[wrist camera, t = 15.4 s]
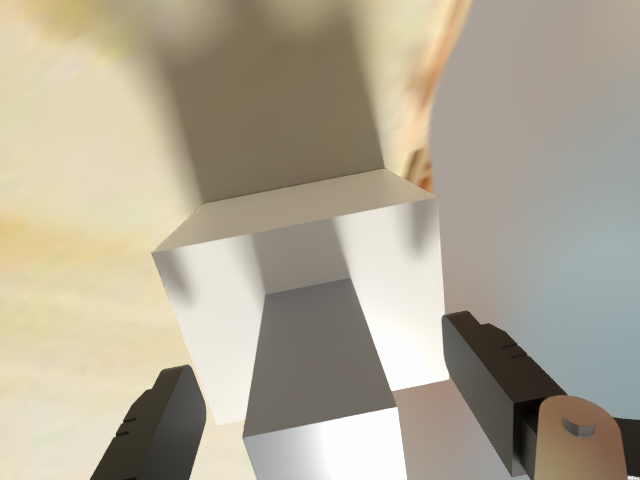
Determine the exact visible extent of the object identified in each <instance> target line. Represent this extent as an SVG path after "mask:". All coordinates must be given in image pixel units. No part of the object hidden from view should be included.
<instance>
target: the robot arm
mask: <svg viewBox="0 0 640 480" xmlns="http://www.w3.org/2000/svg"><path fill="white" fill-rule="evenodd" d="M441 323H442V338H443V353H444V360H445V364H446V367H447V370H448V372H449V374H450V376H451V378H452V380H453V381H454V383H455V384H456V386H457V388H458V389H459V391H460V393H461V394H462V396H463V398H464V399H465V401H466V403H467V404H468V406H469V407H470V409H471V411H472V412H473V414H474V416H475V417H476V419H477V421H478V422H479V424H480V426H481V427H482V429H483V431H484V432H485V434H486V435H487V437H488V439H489V440H490V442H491V444H492V445H493V447H494V449H495V450H496V452H497V453H498V455H499V457H500V458H501V460H502V462H503V463H504V465H505V467H506V468H507V470H508V472H509V473H510V475H511V477H516V476H521V475H526V474H527V475H528V476H529V477H530V479H531V480H640V420H632V419H621V418H614V417H612V416H611V415H610V414H609V413H608V412H606V411H605V410H604V409H602V408H601V407H599V406H598V405H596V404H594V403H592V402H590V401H587V400H585V399H582V398H579V397H575V396H568V395H567V394H566V393H565V392H564V391H563V389H562V388H560V386H559V385H558V384H557V383H555V381H554V380H553V379H551V377H550V376H549V375H548V374H546V373H545V371H544V370H543V369H542V368H541V367H540V366H539V365H538V364H537V363H536V362H535V361H534V360H533V359H532V358H531V357H530V356H527V353H526V352H525V351H524V350H523V349H522V348H521V347H520V346H518V345H517V343H516V342H515V341H514V340H513V339H512V338H511V337H510V336H509V335H508V334H507V333H506V332H505V331H502V330H501V329H499V328H497V327H495V326H493V325H491V324H489V323H488V324H483V325H481V324H479V322H478V321H477V320H476V319H475V318H474V317H473V316H472V315H471V314H470V312H468V311H462V312H457V313H451V314H447V315H443V316H442V319H441ZM205 422H206V405H205V401H204V399H203V396H202V393H201V391H200V388H199V385H198V383H197V380H196V378H195V375H194V372H193V370H192V368H191V367H190V366H189V365H183V366H178V367H173V368H168V369H164V370H162V371H161V372H160V374H159V376H158V378H157V380H156V382H155V384H154V386H153V388H152V389H149V390H146V391H145V392H144V393H143V394H142V395H141V396H140V397H139V398H138V399H137V400H136V401H135V402H134V403H133V404H132V406H131V408H130V409H129V411H128V413H127V415H126V416H125V418H124V420H123V424H121V425H120V427H119V429H118V431H117V432H116V437H114V438H113V439H112V441H111V443H110V445H109V447H108V448H107V450H106V452H105V454H104V455H103V457H102V459H101V461H100V463H99V464H98V466H97V468H96V470H95V471H94V473H93V475H92V477H91V479H90V480H189V478H190V475H191V471H192V468H193V464H194V461H195V457H196V454H197V451H198V447H199V444H200V440H201V437H202V433H203V430H204V426H205Z"/></svg>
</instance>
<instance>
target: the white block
mask: <svg viewBox="0 0 640 480" xmlns="http://www.w3.org/2000/svg"><path fill="white" fill-rule="evenodd" d="M152 256H153V259H154V261H155V264H156V267H157V269H158V272H159V274H160V277H161V280H162V282H163V285H164V288H165V290H166V293H167V296H168V298H169V301H170V303H171V306H172V309H173V311H174V314H175V317H176V319H177V322H178V324H179V327H180V330H181V332H182V335H183V338H184V340H185V343H186V346H187V348H188V351H189V353H190V356H191V359H192V361H193V364H194V367H195V369H196V372H197V375H198V377H199V380H200V382H201V385H202V388H203V390H204V393H205V396H206V398H207V401H208V404H209V406H210V409H211V411H212V414H213V417H214V419H215V422H216V425H222V424H227V423H232V422H237V421H242V420H245V425H244V431H243V437H242V438H243V441H244V444H245V447H246V450H247V452H248V455H249V458H250V461H251V464H252V467H253V470H254V472H255V475H256V478H257V480H407V478H406V470H405V462H404V455H403V447H402V440H401V432H400V424H399V417H398V410H397V405H396V403H395V400H394V397H393V394H392V391H393V390H398V389H403V388H408V387H413V386H418V385H423V384H428V383H433V382H438V381H443V380H448V379H449V372H448V370H447V367H446V364H445V360H444V353H443V338H442V323H441V319H442V316H443V315H445V309H444V294H443V278H442V262H441V247H440V230H439V214H438V198H437V197H436V196H434V195H433V194H431V193H429V192H427V191H425V190H424V189H422V188H420V187H418V186H416V185H414V184H413V183H411V182H409V181H407V180H405V179H404V178H402V177H400V176H398V175H396V174H394V173H393V172H391V171H389V170H387V169H385V168H384V169H379V170H374V171H369V172H364V173H358V174H353V175H348V176H343V177H338V178H333V179H328V180H322V181H317V182H312V183H307V184H302V185H297V186H292V187H286V188H281V189H276V190H271V191H266V192H261V193H255V194H250V195H245V196H240V197H235V198H230V199H225V200H219V201H214V202H209V203H204V204H202V205H201V206H200V207H199V208H198V209H197V210H196V211H195V212H194V213H193V214H192V215H191V216H190V217H189V218H188V219H187V220H186V221H184V222H183V223H182V224H181V225H180V226H179V227H178V228H177V229H176V230H175V231H174V232H173V233H172V234H171V235H170V236H169V237H168V238H167V239H165V240H164V241H163V242H162V243H161V244H160V245H159V246H158V247H157V248H156V249H155V250H154V251H153V252H152Z"/></svg>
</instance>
